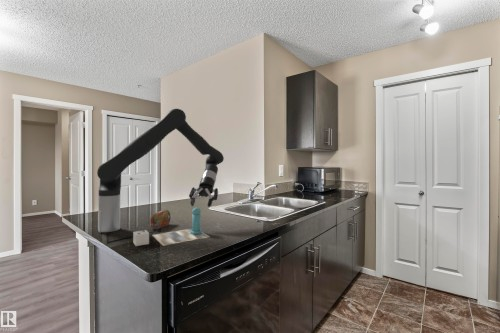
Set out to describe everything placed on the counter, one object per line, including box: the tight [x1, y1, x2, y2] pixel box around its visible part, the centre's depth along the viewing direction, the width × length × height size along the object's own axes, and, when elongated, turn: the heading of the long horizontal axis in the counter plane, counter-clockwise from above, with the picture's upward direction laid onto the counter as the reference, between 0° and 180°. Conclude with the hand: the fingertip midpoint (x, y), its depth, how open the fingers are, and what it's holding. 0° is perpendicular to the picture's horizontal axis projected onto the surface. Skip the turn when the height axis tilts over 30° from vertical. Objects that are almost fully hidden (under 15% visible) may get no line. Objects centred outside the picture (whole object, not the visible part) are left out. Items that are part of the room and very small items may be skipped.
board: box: [151, 228, 211, 247], centre depth 110 cm, size 21×17×1 cm
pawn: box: [190, 206, 203, 235], centre depth 115 cm, size 5×5×12 cm
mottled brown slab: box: [150, 209, 171, 231], centre depth 125 cm, size 15×3×8 cm, turn 168°
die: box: [132, 229, 150, 247], centre depth 100 cm, size 5×5×5 cm
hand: (200, 205), depth 119 cm, fingers open, 8 cm apart
